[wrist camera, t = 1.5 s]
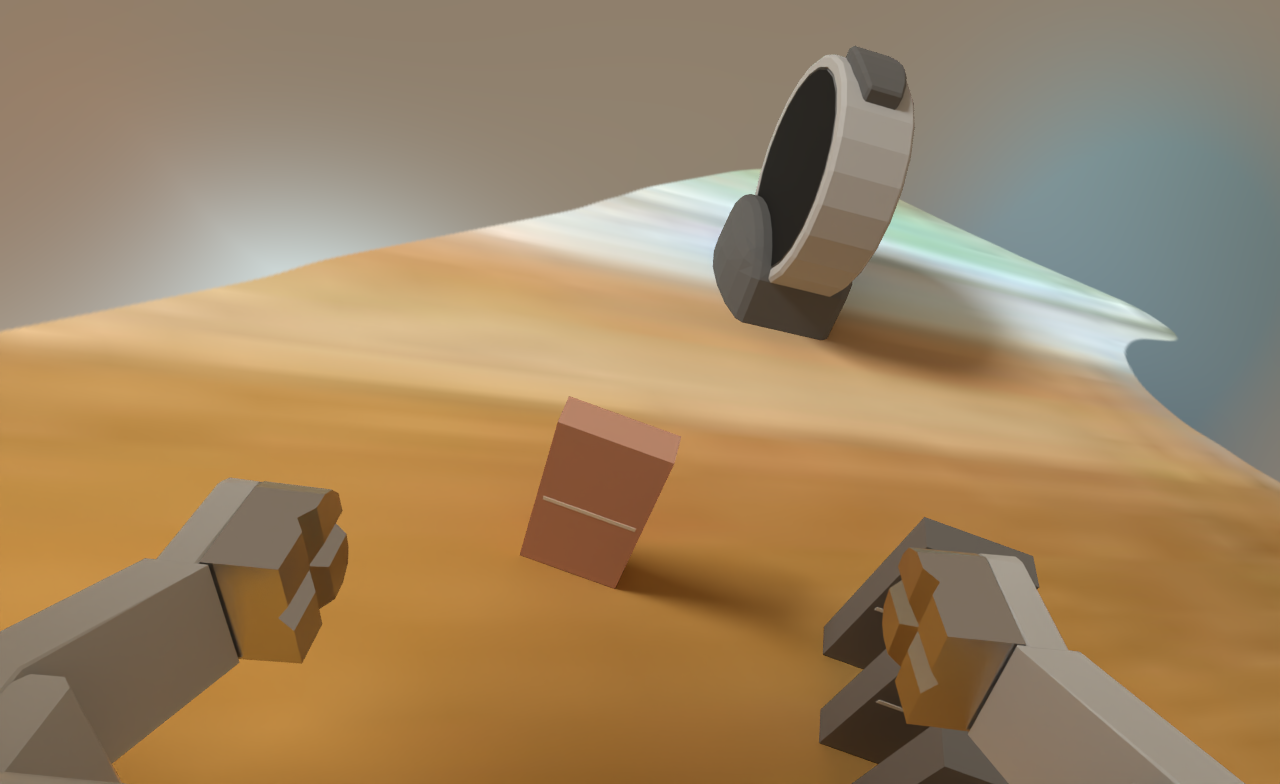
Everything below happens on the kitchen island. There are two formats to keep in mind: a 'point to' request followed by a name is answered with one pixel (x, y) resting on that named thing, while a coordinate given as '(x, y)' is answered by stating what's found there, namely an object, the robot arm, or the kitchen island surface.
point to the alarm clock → (819, 196)
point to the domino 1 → (597, 491)
